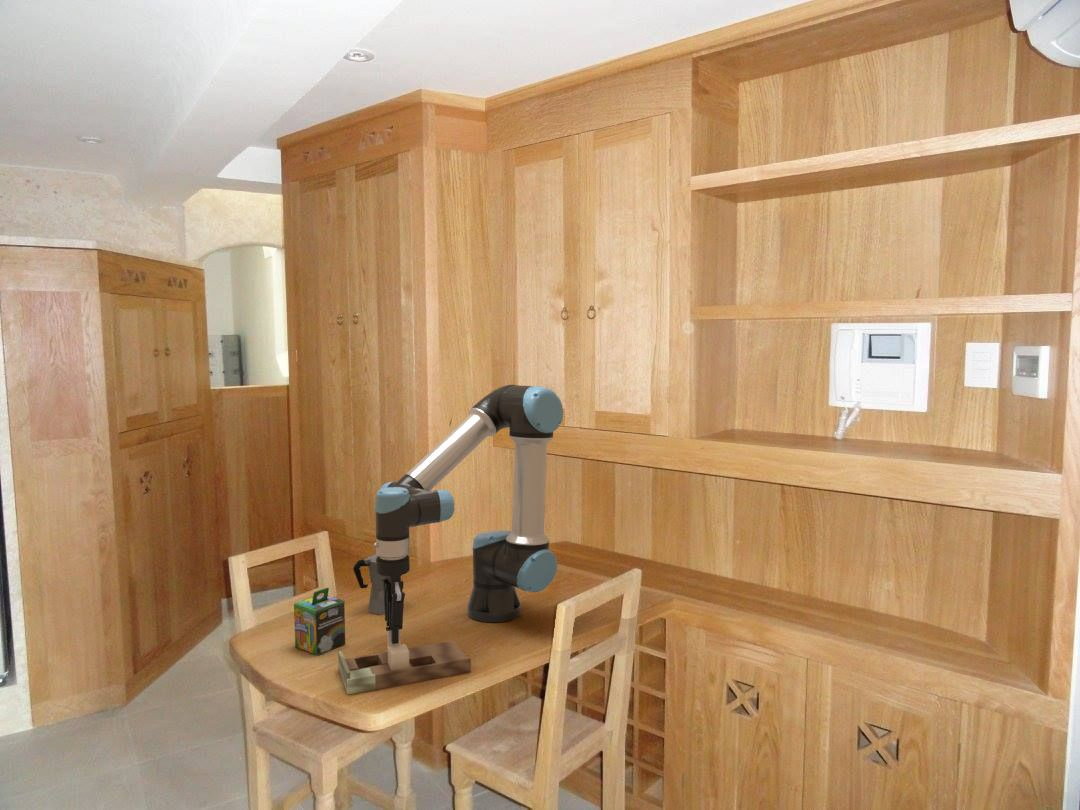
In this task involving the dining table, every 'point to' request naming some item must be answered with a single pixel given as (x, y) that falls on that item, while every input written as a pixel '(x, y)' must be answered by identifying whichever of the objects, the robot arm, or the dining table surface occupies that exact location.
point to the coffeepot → (377, 585)
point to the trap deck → (422, 666)
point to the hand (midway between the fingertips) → (393, 655)
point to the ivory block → (398, 657)
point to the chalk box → (319, 623)
